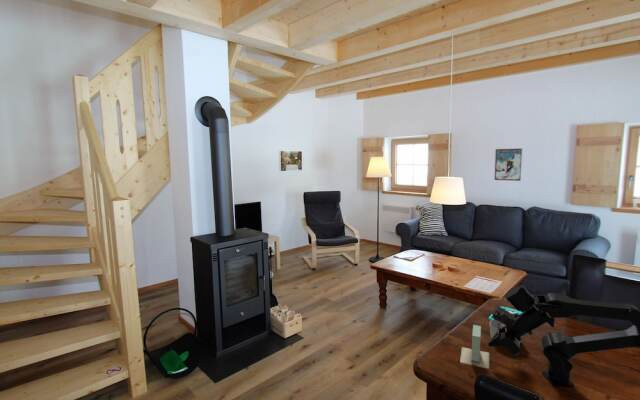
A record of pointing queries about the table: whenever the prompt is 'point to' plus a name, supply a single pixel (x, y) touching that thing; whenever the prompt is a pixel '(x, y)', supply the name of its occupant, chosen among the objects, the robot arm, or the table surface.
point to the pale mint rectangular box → (476, 344)
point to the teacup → (495, 327)
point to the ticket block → (467, 355)
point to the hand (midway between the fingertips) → (488, 344)
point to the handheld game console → (508, 311)
